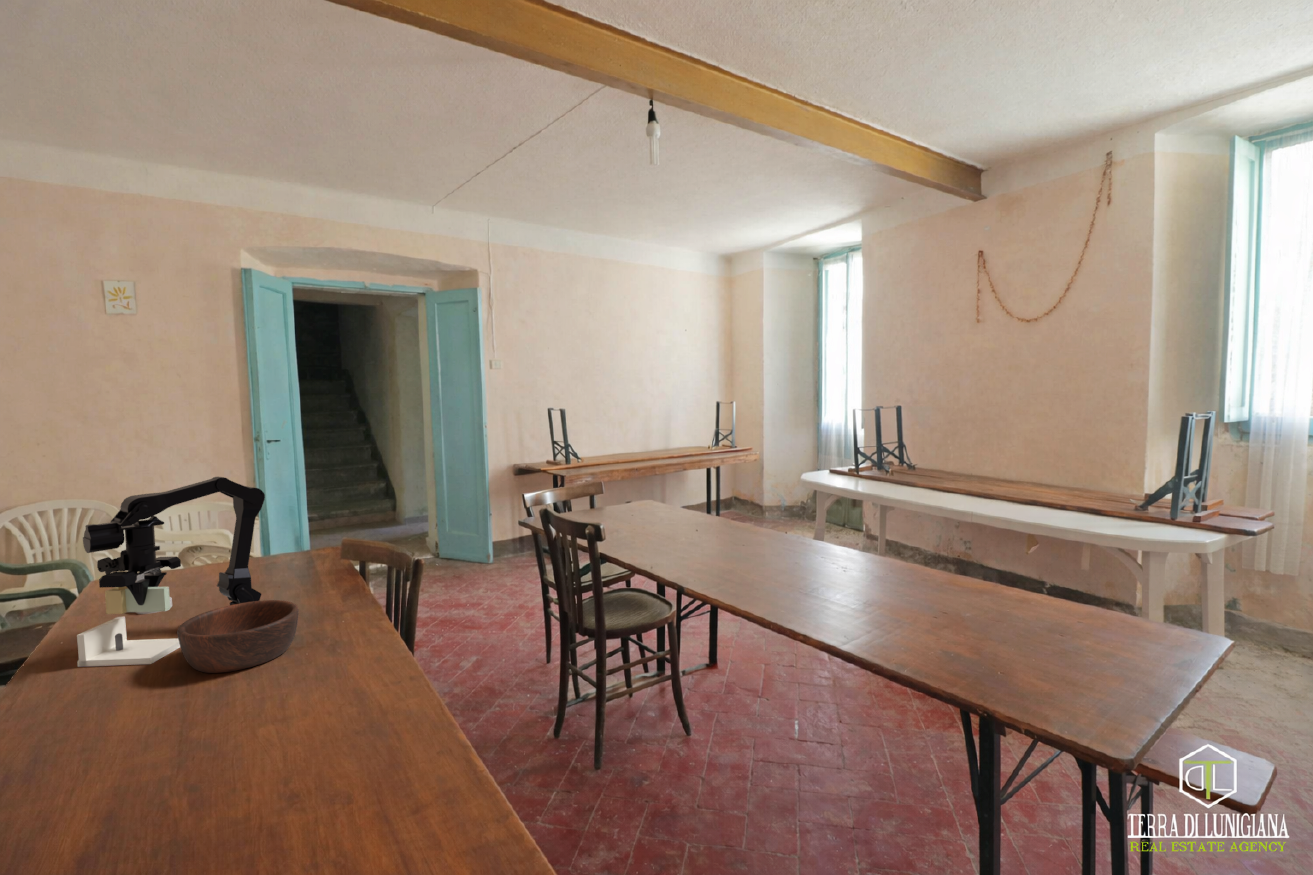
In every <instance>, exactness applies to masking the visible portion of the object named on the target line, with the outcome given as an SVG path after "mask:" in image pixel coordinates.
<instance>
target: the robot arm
mask: <svg viewBox="0 0 1313 875" xmlns="http://www.w3.org/2000/svg"><path fill="white" fill-rule="evenodd" d="M217 493H221V494H222V495H224V496H227V497H229V498H231V499H232V502H233V503H232V506H233V511H234V515H235V524H234V531H233V538H232V545H231V551H230V557H229V564H228V567H227V569H226V570H225V572H223V571H222V572H221V571H219V573H218V582H217V584H216V587H218V591H219V593H220V594H221V595H222V596H225V597H226V598H227V600H228V601H230V602H229V606H230V605H234V604H240V603H246V602H253V601H261V596H262V593H261V592H260V591H258V590H256V589H255V588H252V587H253V586H252V577H251V573H250V569H249V563H250V556H251V552H252V551H251V550H252V542H253V536H254V529H255V522H256V518H257V516H258V515H259V514H260V512H261V510H262V508H263V505H264V502H265V498H266V494H265V492H264V491H263V490H262V489H260V488H258V487H254V486H253V487H252V486H248V485H247V486H246V485H243V484H240V483H237V482H235V481H233V480H230V479H229V478H227V477H223V476H214V477H212V478H210V479H207V480H206V479H205V480H202V481H199V482H196V483H192V484H188V485H184V486H181V487H177V488H174V489H170V490H166V491H161V492H153V493H142V494H136V495H135V494H134V495H130V496H127V497H126V498H124V499H123V501H122V502H121V504H120V509H119V511H118V512H117V513H116V514H115V515H114V516H113V518H112V519H111V520H110V522H105V523H97V524H95V523H91V524H86V525H85V530H84V532H83V537H82V544H83V548H84V551H85V552H86V554H89V553H96V552H97V553H98V552H102V551H108V550H110V551H111V550H115V549H119V548H120V546H123V544H124V543H125V549H123V550H121V552H120V554H119V555H120V556H119V557H116V558H111V557H110V556H107V557H104V558H102V559H101V558H100V559H99V560H97V562H96V564H97V566H96V568H97V570H98V572H100V573H105V574H103V575H102V576H101V577H100V578H98V584H99V585H98V586H99V588H101V589H102V588H115V587H125V586H126V587H127V588H128V589H129V590H130V592H131V593H132V595H133V597H134V598H135V600H136V602H137V604H138V605H144V602H145V599H146V594H147V590H148V587H160V586H159V585H160V584H161V582H162V580H163V579H164V577H165V576H166V575H167V573H168V572H162V570H161V569H163V568H166V567H168V568H169V569H170V570H174V569H177V568H180V567H181V566H182V563H181V562H182V561H181V559H180V557H178V556H158V557H157V551H160V550H161V546H160V545H156V535H155V526H161V525H165V522H164V521H163V520H161V519H159V517H157V515H158V514H160V513H162V512H164V511H165V510H167V509H168V508H171V507H173V506H176V505H179V504H183V503H186V502H190V501H193V500H196V499H200V498H203V497H207V496H209V495H213V494H217Z"/></svg>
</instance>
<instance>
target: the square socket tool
mask: <svg viewBox="0 0 1313 875" xmlns="http://www.w3.org/2000/svg"><path fill="white" fill-rule="evenodd" d="M104 594H105V595H104V597H105V598H104V599H105V614H106V615H123V614H125V613H136V612H156V613H160V612H167V611H169V610H171V608H170V597H171V596H170V586H158V587H148V590H147V594H146V599H145V602H144V605H138V604H137V602H136V600H135V598H134V597H133V595H132V593H131V592H130V590H129V589H128V588H127V587H126V586H125V587H111V588H109V589H106V590H104ZM159 611H160V612H159Z"/></svg>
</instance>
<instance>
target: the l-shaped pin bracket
mask: <svg viewBox="0 0 1313 875" xmlns="http://www.w3.org/2000/svg"><path fill="white" fill-rule="evenodd" d="M76 641H77V650H78V651H77V652H78V660H77V661H76V662H77V667H78V668H81V667H84V668H85V667H107V666H111V667H112V666H130V665H131V666H134V665H135V666H136V665H139V666H140V665H151V664H154V663H156V662H157V661H158V660H159V661H160V660H161V659H162V658H163V657H166V656H168V655H169V654H171V653H173V652H175V651H177V650H178V649H179V648H180V649H181V647H180V644H179V640H178V637H177V638H155V639H130V640H129V639H127V626H126V616H125V615H124V616H116V617H114V618H112V619H110V620H108V621H106V622H105V621H104V622H103V623H101V624H98V625H96V626H94V627H92V628H89V629H87V630H85V631H83V632H80V633H79V634H76Z"/></svg>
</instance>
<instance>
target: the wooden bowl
mask: <svg viewBox="0 0 1313 875" xmlns="http://www.w3.org/2000/svg"><path fill="white" fill-rule="evenodd" d="M298 621H299V606H298V604H296V603H294V602H291V601H287V600H282V599H280V600H277V599H270V600H269V599H266V600H265V599H264V600H263V599H262V600H259V601H253V602H246V603H240V604H234V605H230V604H229V605H225V606H221V607H218V608H214V609H210V610H208V611H205V612H202V613H200V614H198V615H194V616H192V617H190V618H189V619H186V620H185V621H184V622H183V623H181V624H180V625H179V626H178V628H177V632H176V635H177V638H178V640H179V644H180V650H181V653H182V655H183V657H184V658H185V661H186V662H187V663H188V664H189V666H191V667H192V668H193V669H195V670H196V671H199V672H201V673H207V674H219V673H220V674H221V673H230V672H235V671H236V672H237V671H241V670H245V669H249V668H253V667H256V666H259V665H262V664H265V663H267V662H270V661H272V660H274V659H276V658H278V657H279V656H281V655H282V654H284V653H285V652H286V651H287V650H288V649H289V648H290V646H291V644H292V643H293V641H294V639H295V636H296V634H297V633H296V632H297V628H298Z"/></svg>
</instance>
